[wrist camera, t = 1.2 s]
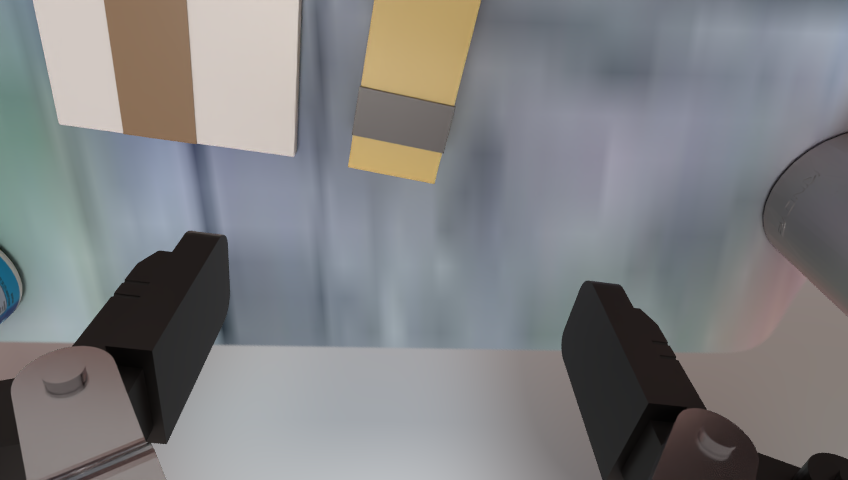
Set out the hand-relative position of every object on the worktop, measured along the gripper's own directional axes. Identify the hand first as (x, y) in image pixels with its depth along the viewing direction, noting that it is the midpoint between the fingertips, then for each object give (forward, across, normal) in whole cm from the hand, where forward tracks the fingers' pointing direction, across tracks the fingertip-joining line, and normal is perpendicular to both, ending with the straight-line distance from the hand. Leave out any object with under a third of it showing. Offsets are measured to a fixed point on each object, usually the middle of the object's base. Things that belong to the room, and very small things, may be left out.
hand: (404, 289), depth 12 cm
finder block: (+20, 0, 0) cm, 20 cm away
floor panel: (+20, +13, 0) cm, 24 cm away
